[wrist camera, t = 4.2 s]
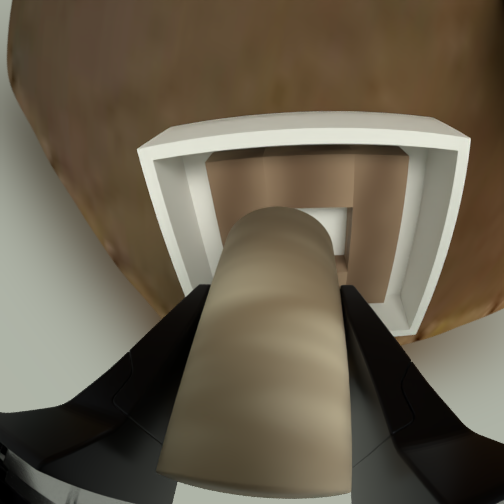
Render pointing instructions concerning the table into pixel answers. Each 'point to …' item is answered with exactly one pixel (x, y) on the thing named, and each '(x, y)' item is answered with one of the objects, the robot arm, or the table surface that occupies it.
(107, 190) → the table surface
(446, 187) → the open box
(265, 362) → the peg
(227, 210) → the bore plate
